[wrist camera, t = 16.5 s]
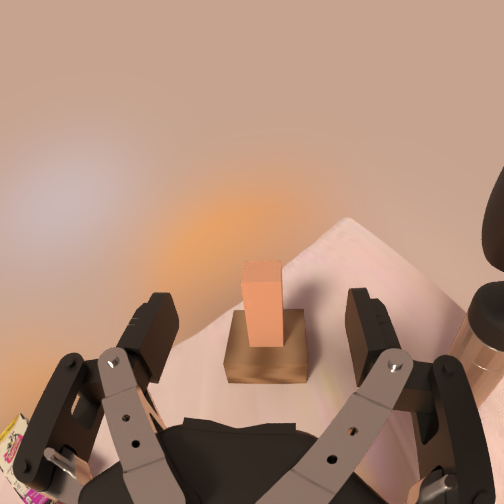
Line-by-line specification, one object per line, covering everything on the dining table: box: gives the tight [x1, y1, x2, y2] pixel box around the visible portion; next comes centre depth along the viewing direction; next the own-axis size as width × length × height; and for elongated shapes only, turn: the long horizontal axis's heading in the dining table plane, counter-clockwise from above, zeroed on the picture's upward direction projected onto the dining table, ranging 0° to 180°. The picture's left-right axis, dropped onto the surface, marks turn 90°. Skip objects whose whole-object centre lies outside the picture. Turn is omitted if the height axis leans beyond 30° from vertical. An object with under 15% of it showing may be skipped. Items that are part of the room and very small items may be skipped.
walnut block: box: [223, 309, 308, 384], centre depth 45 cm, size 12×12×5 cm
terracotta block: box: [241, 260, 284, 347], centre depth 40 cm, size 5×5×12 cm
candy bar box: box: [0, 413, 62, 504], centre depth 22 cm, size 11×5×16 cm
